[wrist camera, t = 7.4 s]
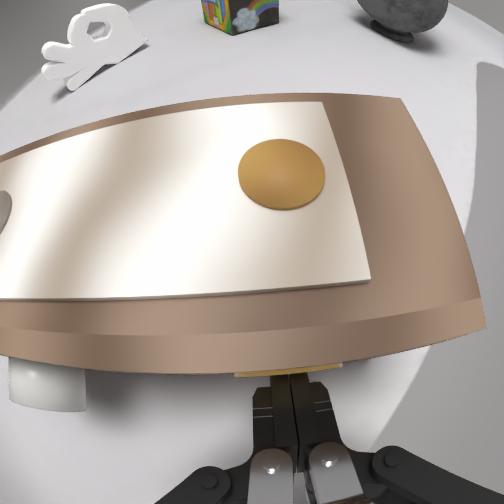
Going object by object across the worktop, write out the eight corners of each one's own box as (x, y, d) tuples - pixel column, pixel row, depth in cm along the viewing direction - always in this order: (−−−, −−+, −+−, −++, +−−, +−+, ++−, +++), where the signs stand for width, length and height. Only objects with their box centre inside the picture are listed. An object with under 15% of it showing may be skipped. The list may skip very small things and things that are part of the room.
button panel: (48, 364, 18) (-79, 331, 7) (59, 249, 22) (-35, 166, 11) (369, 358, 18) (495, 324, 6) (346, 223, 22) (403, 90, 10)
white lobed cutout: (149, 41, 34) (116, -11, 24) (72, 106, 34) (28, 63, 23) (141, 37, 35) (110, -11, 25) (68, 100, 35) (26, 59, 24)
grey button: (44, 397, 13) (-6, 395, 9) (44, 350, 14) (-6, 337, 10) (101, 409, 13) (51, 413, 9) (100, 356, 14) (50, 345, 10)
